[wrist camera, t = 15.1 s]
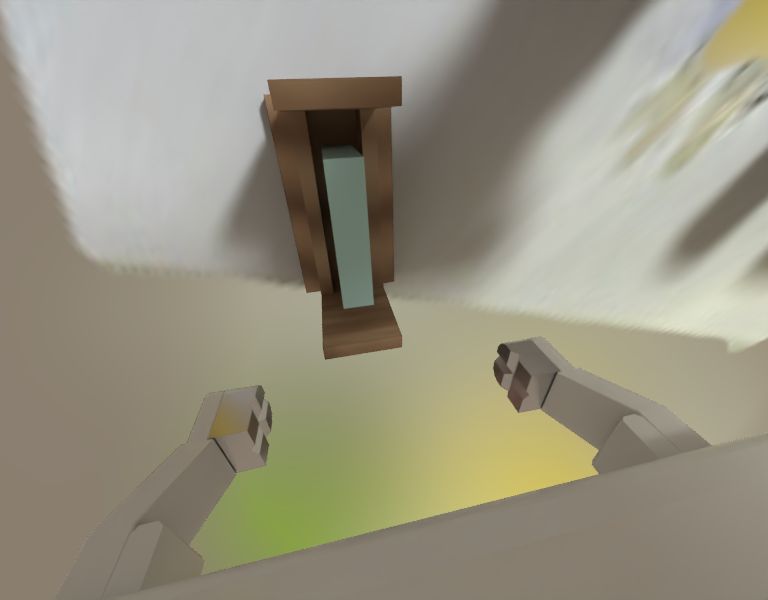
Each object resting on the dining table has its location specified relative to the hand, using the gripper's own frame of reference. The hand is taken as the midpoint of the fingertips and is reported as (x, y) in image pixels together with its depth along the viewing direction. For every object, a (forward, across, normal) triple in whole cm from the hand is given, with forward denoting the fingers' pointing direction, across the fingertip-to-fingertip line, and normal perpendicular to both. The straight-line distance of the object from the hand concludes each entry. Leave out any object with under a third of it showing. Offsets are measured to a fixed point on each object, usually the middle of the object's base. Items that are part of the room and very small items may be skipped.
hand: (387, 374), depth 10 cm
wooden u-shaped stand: (+23, 0, 0) cm, 23 cm away
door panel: (+22, 0, 0) cm, 22 cm away
